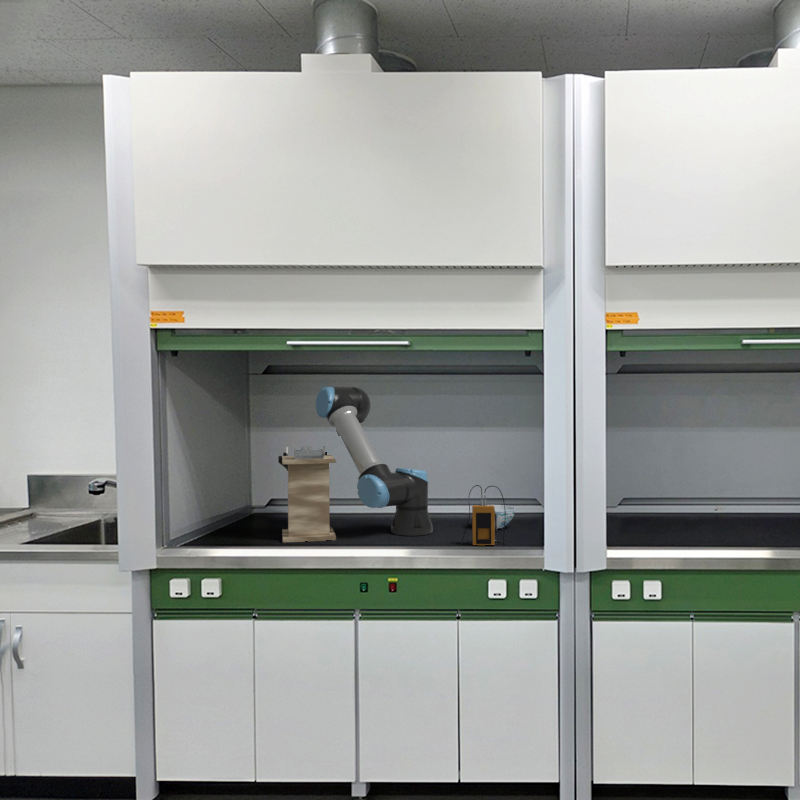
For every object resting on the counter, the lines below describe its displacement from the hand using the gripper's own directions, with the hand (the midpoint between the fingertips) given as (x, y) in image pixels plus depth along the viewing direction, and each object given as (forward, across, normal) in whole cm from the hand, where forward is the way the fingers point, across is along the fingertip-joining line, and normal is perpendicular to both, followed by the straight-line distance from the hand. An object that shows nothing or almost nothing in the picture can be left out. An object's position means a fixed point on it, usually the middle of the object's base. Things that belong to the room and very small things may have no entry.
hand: (305, 449), depth 250 cm
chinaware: (-4, -70, -32) cm, 77 cm away
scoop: (+6, 0, -6) cm, 8 cm away
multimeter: (+16, -58, -44) cm, 74 cm away
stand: (-2, 0, -33) cm, 33 cm away
